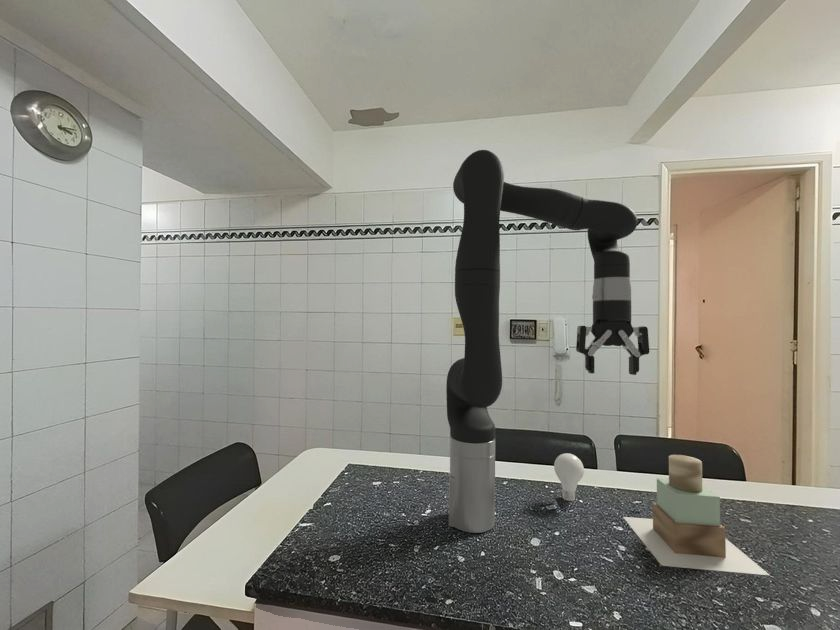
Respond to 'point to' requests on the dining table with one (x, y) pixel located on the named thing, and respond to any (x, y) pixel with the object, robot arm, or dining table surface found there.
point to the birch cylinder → (685, 473)
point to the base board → (667, 557)
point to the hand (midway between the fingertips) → (611, 373)
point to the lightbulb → (569, 474)
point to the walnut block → (689, 535)
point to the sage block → (688, 504)
